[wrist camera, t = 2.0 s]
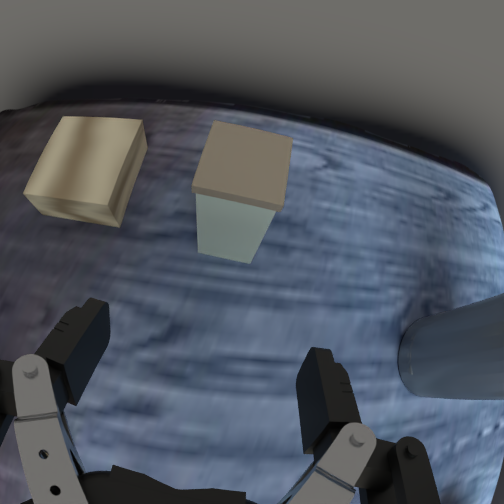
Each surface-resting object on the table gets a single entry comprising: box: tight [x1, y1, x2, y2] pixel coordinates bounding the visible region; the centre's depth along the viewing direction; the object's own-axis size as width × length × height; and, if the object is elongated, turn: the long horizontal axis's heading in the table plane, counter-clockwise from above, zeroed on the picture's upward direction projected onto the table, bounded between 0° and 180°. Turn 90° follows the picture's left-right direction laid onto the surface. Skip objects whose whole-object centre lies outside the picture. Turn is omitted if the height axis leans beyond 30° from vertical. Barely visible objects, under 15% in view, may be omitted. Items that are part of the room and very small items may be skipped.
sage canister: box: [191, 120, 293, 264], centre depth 24 cm, size 5×5×12 cm
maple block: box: [23, 117, 148, 228], centre depth 27 cm, size 10×10×5 cm
